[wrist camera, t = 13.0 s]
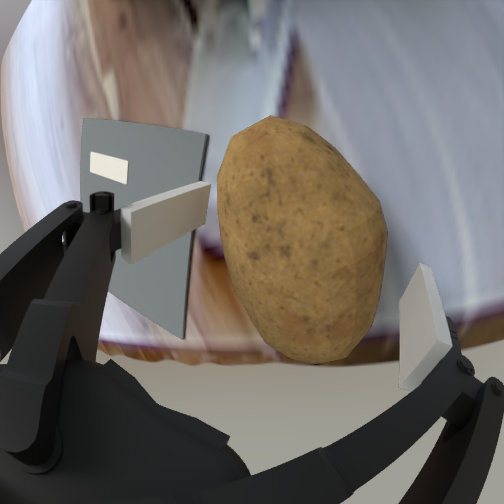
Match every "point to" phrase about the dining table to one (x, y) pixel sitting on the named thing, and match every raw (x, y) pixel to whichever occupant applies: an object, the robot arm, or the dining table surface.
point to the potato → (300, 240)
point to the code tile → (138, 188)
